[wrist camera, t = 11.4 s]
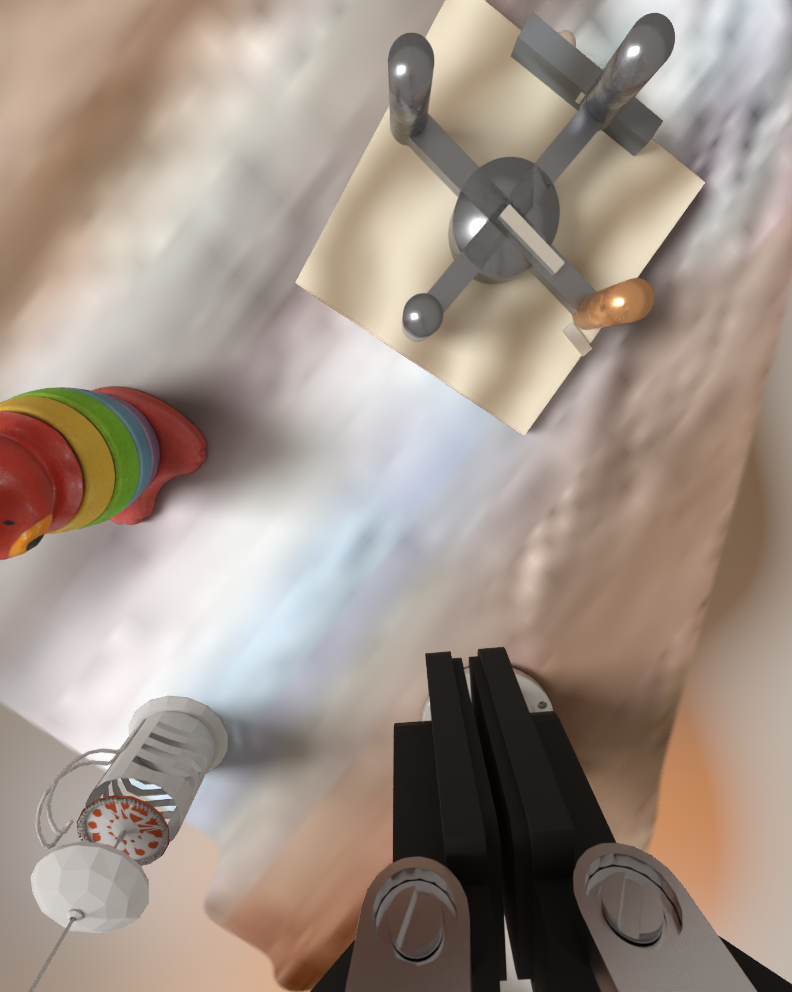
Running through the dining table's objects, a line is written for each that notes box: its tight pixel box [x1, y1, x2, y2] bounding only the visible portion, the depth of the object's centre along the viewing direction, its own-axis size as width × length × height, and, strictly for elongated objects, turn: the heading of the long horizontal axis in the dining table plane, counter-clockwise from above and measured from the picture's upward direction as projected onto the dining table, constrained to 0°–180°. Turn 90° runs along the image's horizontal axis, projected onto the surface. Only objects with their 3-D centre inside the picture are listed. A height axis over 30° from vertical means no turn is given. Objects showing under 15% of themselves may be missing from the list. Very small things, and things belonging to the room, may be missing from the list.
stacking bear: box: [0, 387, 207, 560], centre depth 29 cm, size 11×10×18 cm
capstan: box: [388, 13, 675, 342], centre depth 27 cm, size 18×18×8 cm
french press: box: [29, 696, 228, 992], centre depth 33 cm, size 10×12×25 cm
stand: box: [295, 0, 705, 436], centre depth 32 cm, size 20×21×4 cm
